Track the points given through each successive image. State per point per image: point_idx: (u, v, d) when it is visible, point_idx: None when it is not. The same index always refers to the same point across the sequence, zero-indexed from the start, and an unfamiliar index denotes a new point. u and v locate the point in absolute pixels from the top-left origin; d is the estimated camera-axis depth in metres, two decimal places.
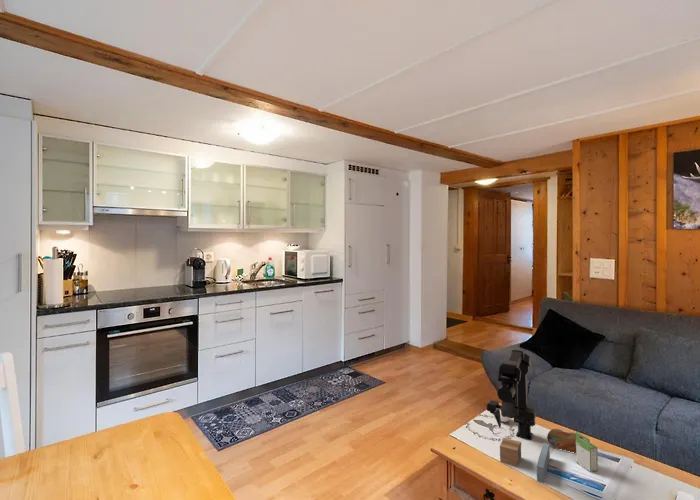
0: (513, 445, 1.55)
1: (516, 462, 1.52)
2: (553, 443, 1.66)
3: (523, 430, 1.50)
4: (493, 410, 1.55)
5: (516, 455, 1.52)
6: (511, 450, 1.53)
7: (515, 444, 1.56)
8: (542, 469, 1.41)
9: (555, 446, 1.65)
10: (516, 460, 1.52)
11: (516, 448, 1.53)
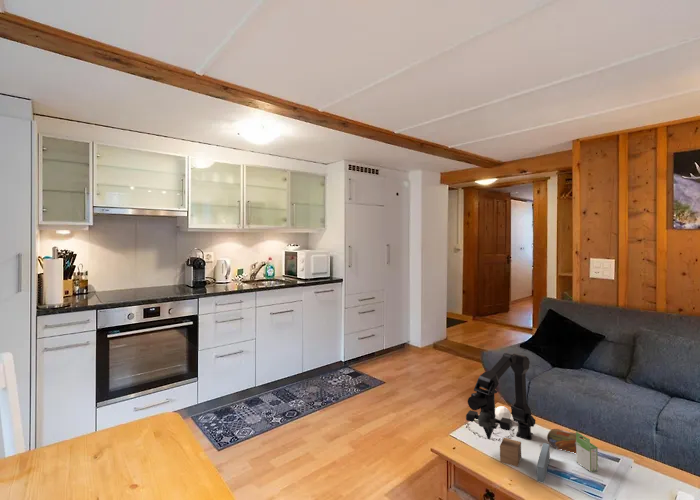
0: (513, 445, 1.55)
1: (516, 462, 1.52)
2: (553, 443, 1.66)
3: (489, 436, 1.61)
4: (472, 420, 1.63)
5: (516, 455, 1.52)
6: (511, 450, 1.53)
7: (515, 444, 1.56)
8: (542, 469, 1.41)
9: (555, 446, 1.65)
10: (516, 460, 1.52)
11: (516, 448, 1.53)
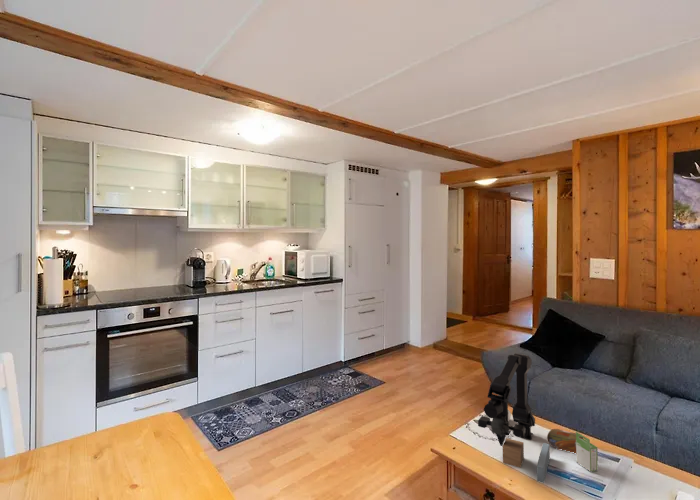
0: (516, 446, 1.55)
1: (519, 463, 1.51)
2: (553, 443, 1.66)
3: (502, 443, 1.58)
4: (484, 426, 1.60)
5: (519, 456, 1.51)
6: (513, 450, 1.53)
7: (518, 445, 1.56)
8: (542, 469, 1.41)
9: (555, 446, 1.65)
10: (519, 461, 1.51)
11: (519, 449, 1.53)
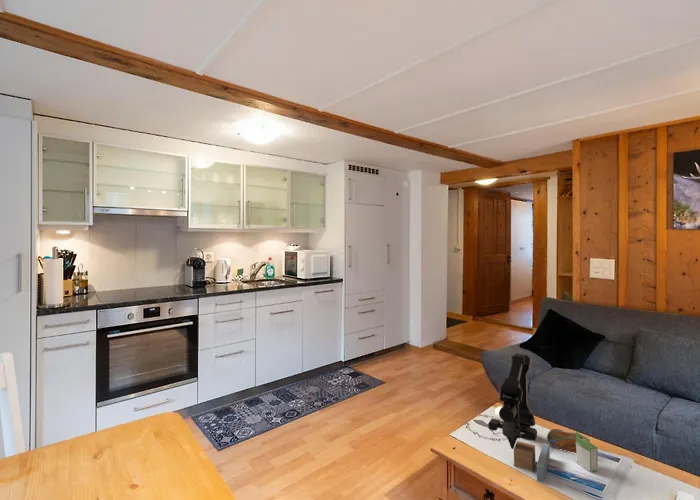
0: (527, 449, 1.52)
1: (531, 466, 1.49)
2: (553, 443, 1.66)
3: (513, 446, 1.56)
4: (495, 429, 1.58)
5: (531, 459, 1.49)
6: (525, 454, 1.50)
7: (529, 448, 1.53)
8: (542, 469, 1.41)
9: (555, 446, 1.65)
10: (531, 464, 1.49)
11: (530, 452, 1.50)
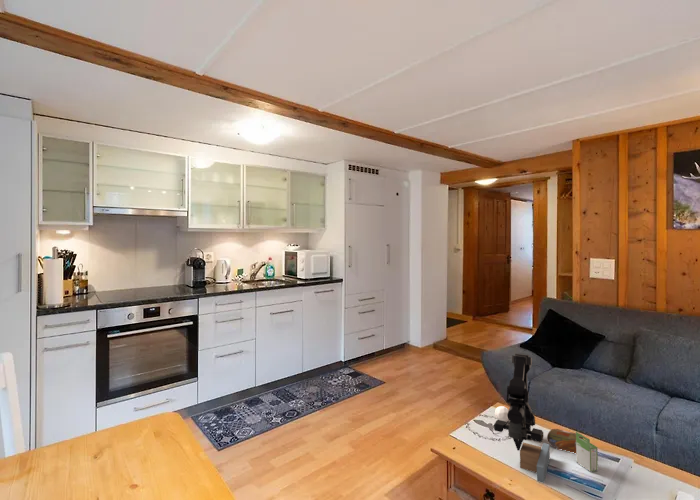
0: (533, 451, 1.51)
1: None
2: (553, 443, 1.66)
3: (519, 448, 1.54)
4: (500, 430, 1.56)
5: (537, 461, 1.47)
6: (531, 455, 1.49)
7: (536, 449, 1.52)
8: (542, 469, 1.41)
9: (555, 446, 1.65)
10: None
11: (537, 453, 1.49)
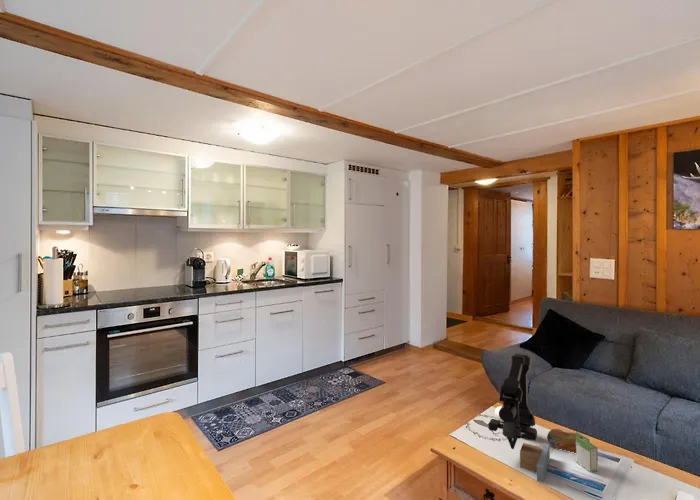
0: (533, 451, 1.51)
1: None
2: (553, 443, 1.66)
3: (513, 446, 1.56)
4: (495, 429, 1.58)
5: (537, 461, 1.47)
6: (531, 456, 1.49)
7: (536, 450, 1.52)
8: (542, 469, 1.41)
9: (555, 446, 1.65)
10: None
11: (537, 454, 1.49)
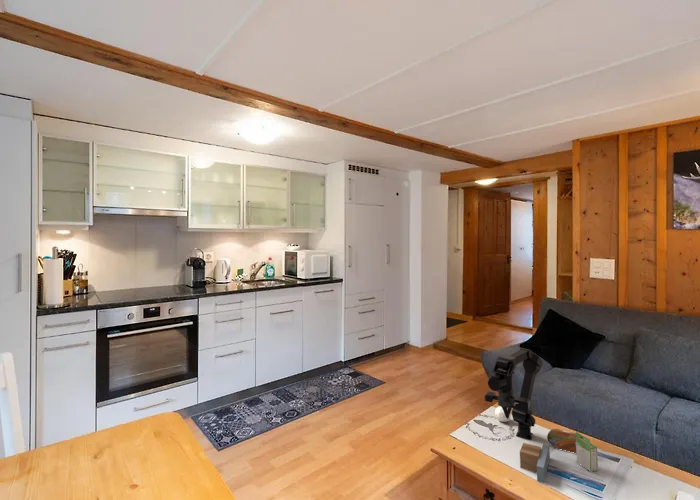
0: (533, 451, 1.51)
1: None
2: (553, 443, 1.66)
3: (508, 416, 1.67)
4: (491, 400, 1.69)
5: (537, 461, 1.47)
6: (531, 456, 1.49)
7: (536, 450, 1.52)
8: (542, 469, 1.41)
9: (555, 446, 1.65)
10: None
11: (537, 454, 1.49)
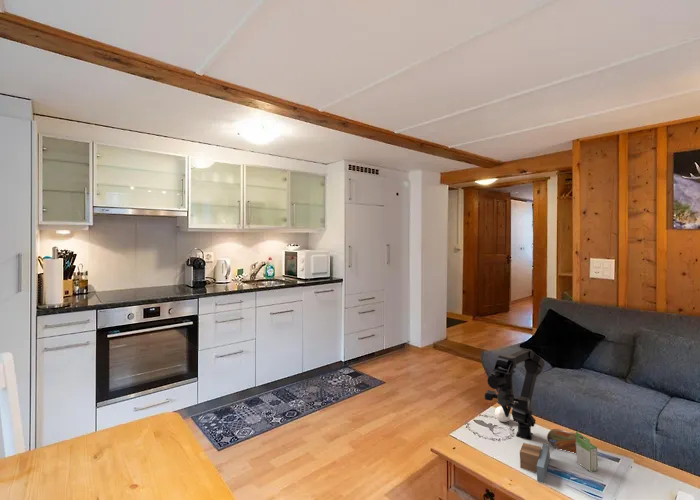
0: (533, 451, 1.51)
1: None
2: (553, 443, 1.66)
3: (507, 414, 1.68)
4: (490, 399, 1.70)
5: (537, 461, 1.47)
6: (531, 456, 1.49)
7: (536, 450, 1.52)
8: (542, 469, 1.41)
9: (555, 446, 1.65)
10: None
11: (537, 454, 1.49)
